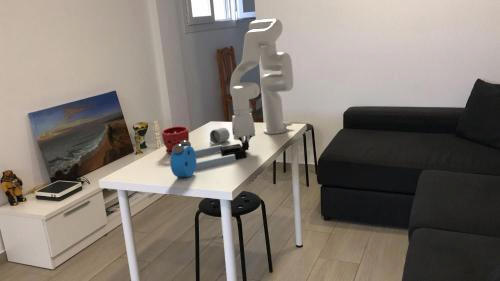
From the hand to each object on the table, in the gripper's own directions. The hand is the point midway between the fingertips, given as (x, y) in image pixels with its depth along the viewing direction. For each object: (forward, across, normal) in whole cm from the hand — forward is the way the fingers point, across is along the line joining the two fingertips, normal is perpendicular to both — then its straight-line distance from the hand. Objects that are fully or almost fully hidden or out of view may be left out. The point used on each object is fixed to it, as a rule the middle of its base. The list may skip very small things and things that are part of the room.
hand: (245, 149), depth 216 cm
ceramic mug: (+1, +5, -26) cm, 27 cm away
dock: (+1, +17, 0) cm, 17 cm away
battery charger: (+2, +7, +2) cm, 8 cm away
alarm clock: (+2, +34, +15) cm, 37 cm away
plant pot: (+1, +28, -22) cm, 36 cm away
